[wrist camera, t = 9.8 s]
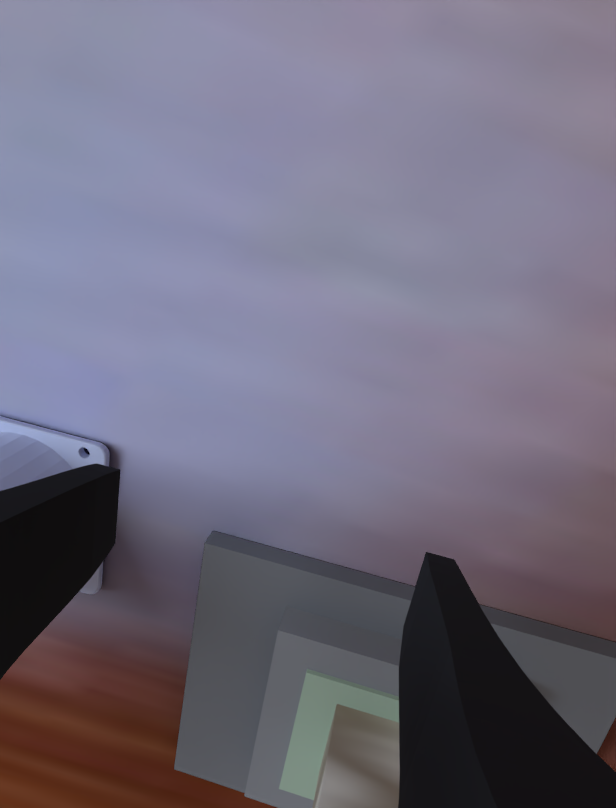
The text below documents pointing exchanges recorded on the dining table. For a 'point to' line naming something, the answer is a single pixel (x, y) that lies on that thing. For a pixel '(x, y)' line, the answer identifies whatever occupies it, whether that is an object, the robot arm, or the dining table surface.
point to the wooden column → (359, 762)
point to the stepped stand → (332, 666)
